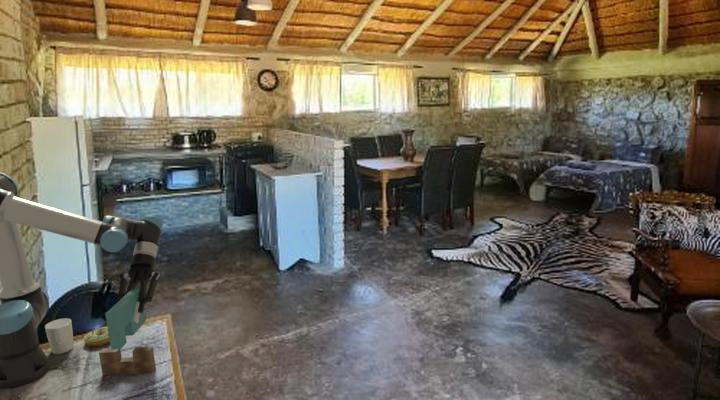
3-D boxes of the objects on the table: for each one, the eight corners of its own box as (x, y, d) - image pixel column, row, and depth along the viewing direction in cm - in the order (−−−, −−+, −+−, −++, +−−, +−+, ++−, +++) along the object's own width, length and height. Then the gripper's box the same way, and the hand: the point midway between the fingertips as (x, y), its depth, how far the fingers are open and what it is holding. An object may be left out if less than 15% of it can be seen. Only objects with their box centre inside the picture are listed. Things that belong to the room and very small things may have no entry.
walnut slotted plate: (102, 375, 149) (98, 352, 147) (106, 370, 151) (102, 348, 149) (152, 373, 149) (149, 350, 147) (155, 368, 152) (152, 346, 150)
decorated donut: (88, 337, 174) (86, 327, 173) (119, 331, 177) (118, 322, 176) (82, 350, 164) (80, 341, 163) (115, 344, 168) (114, 335, 167)
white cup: (80, 343, 169) (76, 318, 166) (65, 355, 161) (60, 329, 159) (60, 343, 169) (55, 318, 167) (44, 354, 162) (39, 328, 160)
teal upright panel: (137, 321, 159) (132, 288, 157) (145, 321, 159) (141, 288, 157) (111, 349, 142) (105, 313, 139) (121, 348, 142) (115, 313, 139)
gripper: (171, 260, 167) (158, 325, 154) (125, 262, 166) (109, 327, 154) (163, 251, 160) (149, 318, 148) (116, 253, 160) (99, 320, 148)
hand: (129, 322), depth 151 cm, fingers closed on teal upright panel, 3 cm apart
